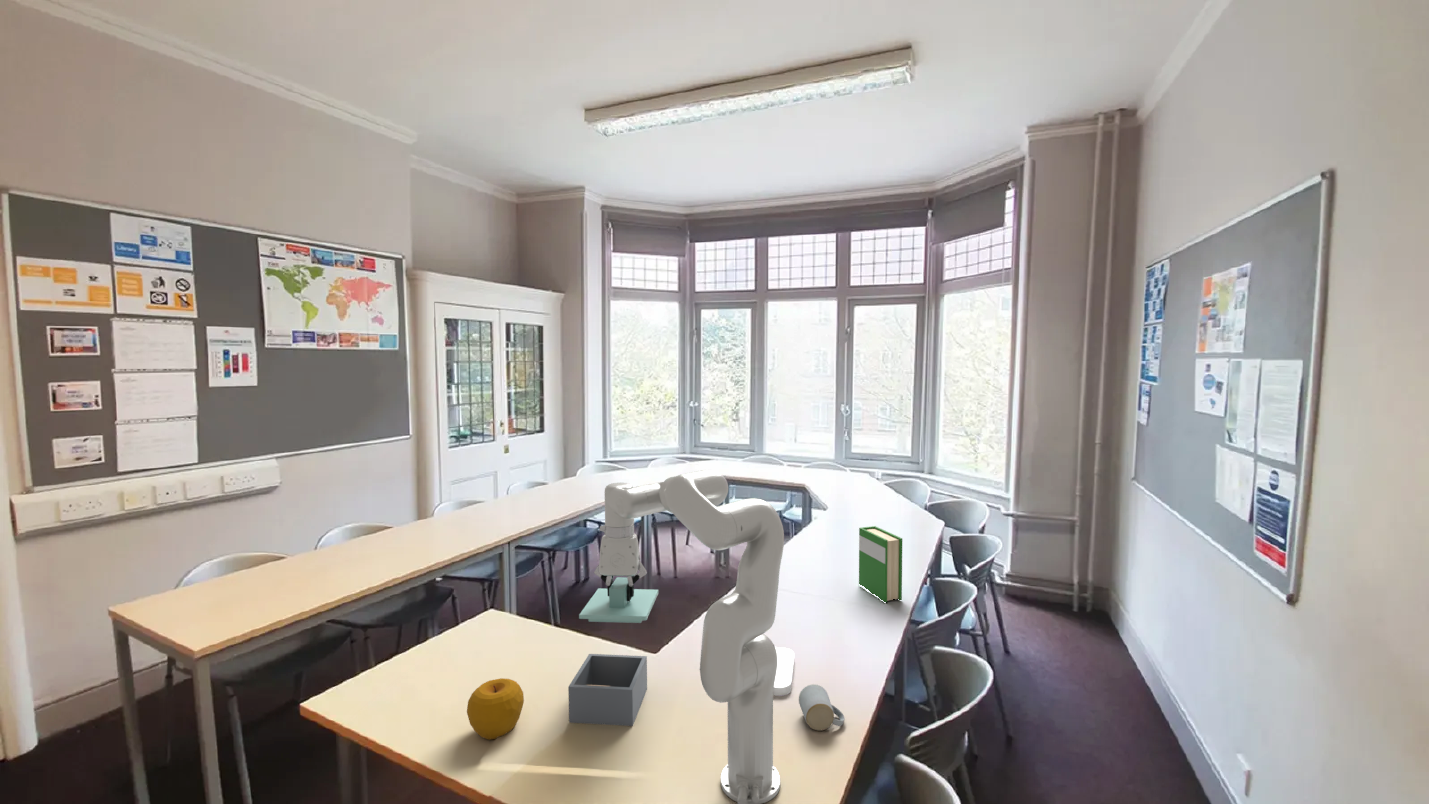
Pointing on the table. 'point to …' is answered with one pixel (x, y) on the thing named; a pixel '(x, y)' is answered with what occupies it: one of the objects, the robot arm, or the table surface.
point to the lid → (619, 604)
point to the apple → (495, 707)
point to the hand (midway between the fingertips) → (620, 598)
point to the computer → (784, 671)
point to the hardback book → (880, 563)
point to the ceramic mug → (818, 708)
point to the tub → (608, 690)
